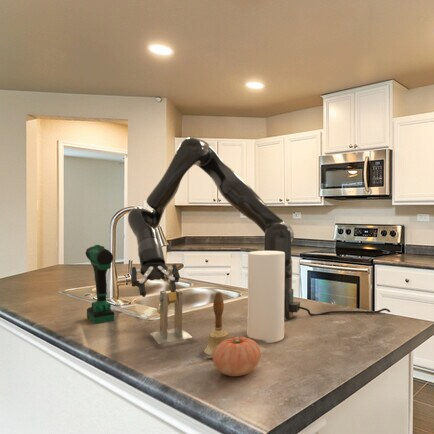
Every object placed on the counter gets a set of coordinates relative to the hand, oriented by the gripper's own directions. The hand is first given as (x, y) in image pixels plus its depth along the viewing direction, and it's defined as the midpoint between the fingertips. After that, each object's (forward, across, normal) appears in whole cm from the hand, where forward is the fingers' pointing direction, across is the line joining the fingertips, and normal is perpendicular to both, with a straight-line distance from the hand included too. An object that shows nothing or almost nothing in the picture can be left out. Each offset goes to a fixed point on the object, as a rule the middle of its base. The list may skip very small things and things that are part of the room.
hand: (159, 293), depth 120 cm
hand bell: (+30, +7, -15) cm, 35 cm away
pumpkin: (+40, +6, -25) cm, 48 cm away
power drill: (-10, -15, +25) cm, 31 cm away
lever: (+9, 0, -5) cm, 10 cm away
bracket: (+17, 0, -2) cm, 18 cm away
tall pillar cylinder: (+27, +23, -12) cm, 38 cm away
